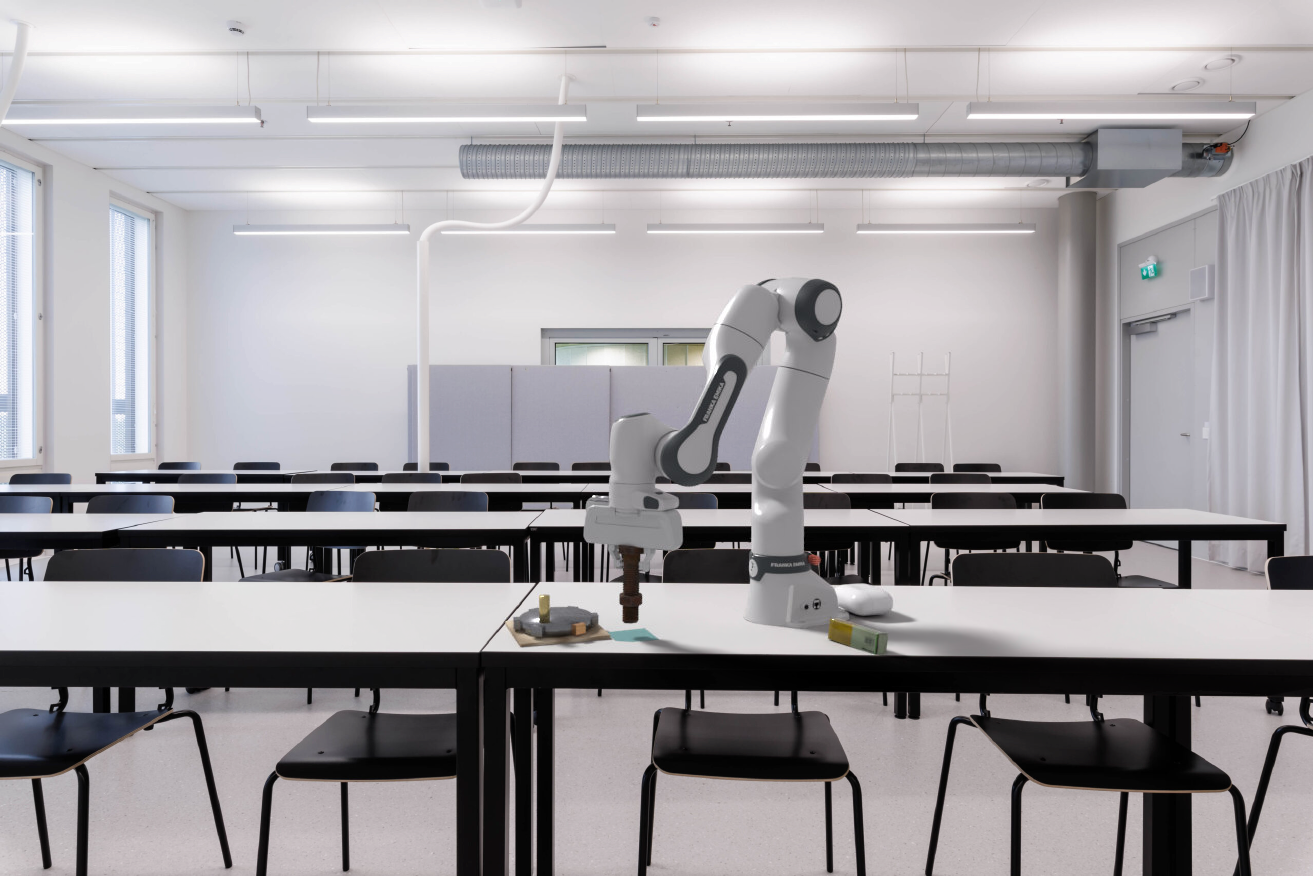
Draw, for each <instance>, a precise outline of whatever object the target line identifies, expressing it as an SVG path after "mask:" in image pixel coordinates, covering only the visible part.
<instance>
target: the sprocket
mask: <svg viewBox="0 0 1313 876" xmlns="http://www.w3.org/2000/svg"><path fill="white" fill-rule="evenodd" d="M550 601H551V595H550V594H540V595H539V596H538V607H533V608H529V609H528V610H527V611H524V612H523V613H521V614H520V615H519V616H513V617H512V620H513V628H514V629H521V630H522V631H523V632H525V633H528V634H531V636H535V637H543V636H561V635H570V634H574V635H579V634H583V633H586V630H588V629H589V628H591V626H592V625H596V624H599V614H598V612H591V611H589V610H586V609H583V608H579V606H575V605H573V606H572V605H568V606H551V602H550Z"/></svg>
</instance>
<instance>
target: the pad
mask: <svg viewBox="0 0 1313 876" xmlns="http://www.w3.org/2000/svg"><path fill="white" fill-rule="evenodd" d="M607 632H608V633H609V634H610V638H611V639H612V640H614V641H616V642H625V643H627V642H628V643H635V642H649V641H655V640H656V641H657V640H659V637H657V636H655V635H654V634H653V633H652V632H651V631H649V630H648V629H647V628H645V627H644V628H643V627H642V628H636V629H635V628H633V629H625V630H615V631H607Z"/></svg>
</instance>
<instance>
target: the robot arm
mask: <svg viewBox="0 0 1313 876" xmlns="http://www.w3.org/2000/svg"><path fill="white" fill-rule="evenodd" d="M842 311H843V298H842V295H841V291H840V290H839V288H838V287H837V285H835V284H834V283H832V282H830V281H827V280H824V279H821V278H807V277H799V276H798V277H786V278H779V279H777V278H769V279H765V280H762V281H760V282H758V283H756V284H745V285H743V286H741V287H740V288H738V289H737V290H736V291H735V293H734V294H733V295H732V296H731V298H730V299H729V301H728V302H727V303H726V304H725V305H724V307H723V309H722V310H721V312H720V313H719V315H718V317H717V318H716V320H715V322H714V324H713V326H712V328H711V330H710V331H709V334H708V336H707V338H706V340H705V343H704V347H703V350H702V354H701V361H702V364H703V366H704V370H705V371H706V382H705V386H704V388H703V390H702V392H701V395H700V397H699V398H698V401H697V403H696V405H695V407H694V410H692V411H693V412H692V413H691V416H690V418H689V420H688V422H687V423H686V424H685V425H684V426H683V427H682V428H681V429H678V428H676V427H672V426H670V425H669V424H667V423H665V422H663V421H661V420H660V419H658V418H656V417H655V416H654V415H652V413H650V412H638V413H632V414H631V413H630V414H626V415H622V416H619V417H618V418H617V419H615V420H614V422H613V423H612V426H611V428H610V429H611V430H610V436H609V455H608V456H609V457H608V458H609V459H608V461H609V463H610V469H611V470H610V476H609V478H608V479H609V480H608V481H609V482H608V485H609V486H608V491H609V492H608V495H597V494H596V495H592V497H590V498H588V499H587V501H586V504H585V517H584V524H583V525H584V527H583V538H584V541H586V543H589V544H599V545H600V544H601V545H606V546H607V545H608V548H607V549H608V552H609V554H610V556H611V559H612V560H613V568H614V569H617V570H623V568H624V567H623V557H621V554H619V552H618V546H619V545H626V546H635V547H639V548H644V554H643V555H645V557H644V559H642V561H640V562H639V571H640V572H642V573H643V572H644V573H646V572H650V570H651V561H652V560H653V558H654V557H655V555H656V550H660V551H669V552H670V551H675V550H678V549H679V548H680V547H681V546H682V545H683V541H684V539H683V538H684V537H683V536H684V535H683V534H684V533H683V521H682V520H683V519H682V516H681V513H680V511H678V509H676V508H678V507H679V505H680V500H679V497H678V496H675V495H673V494H671V493H669V492H666V491H664V490H662V489H659V488H657V487H656V479H657V477H664V478H666V479H668V480H670V481H672V482H673V483H674V484H676V485H679V486H682V487H686V488H691V487H696V486H699V485H701V484H704V483H705V482H707V481H708V480H709V479H710V478H711V476H713V474H714V472H715V471H716V470H715V469H716V468H717V464H718V460H719V459H718V457H719V446H720V445H719V444H720V440H721V437H722V433H723V431H724V430H725V427H726V424H727V422H728V420H729V418H730V416H731V414H732V411H733V409H734V408H735V405H736V402H737V400H738V398H739V396H740V394H741V392H742V389H743V387H744V385H745V384H746V382H747V381H748V379H749V377H750V375H751V374H752V372H753V370H754V369H755V368H756V365H757V364H758V362H759V360H760V359H761V356H762V354H763V353H764V351H765V349H766V347H767V344H768V343H769V340H770V338H771V336H772V334H773V333H774V332H775V331H777V332H782V333H784V335H785V347H784V350H783V352H782V354H781V357H780V359H779V363H778V367H777V369H776V372H775V373H776V374H775V377H774V380H773V382H772V383H773V384H772V387H771V391H770V393H769V397H768V401H767V404H766V408H765V411H764V415H763V418H762V421H761V425H760V428H759V431H758V434H757V437H756V442H755V444H754V445H755V446H753V447H754V448H753V450H752V454H751V459H750V466H751V511H750V512H751V514H750V515H751V519H750V521H751V526H750V527H751V537H750V539H751V546H750V547H751V550H750V551H749V555H748V557H749V559H748V564H749V565H748V571H749V587H748V588H749V591H748V595H747V601H746V607H745V610H744V614H743V618H744V620H746V621H749V622H751V623H752V624H753V623H754V624H758V625H763V626H771V627H774V626H775V627H783V628H784V627H786V628H790V629H791V628H792V629H805V628H811V627H816V626H818V627H819V626H823V625H829V624H830V619H842V620H845V621H850V620H851V619H850V612H849V611H847V610H845V609H843V608H841V607H839V605H838V598H837V594H836V591H835V587H833V585H831V584H830V583H829V582H827V580H825V579H823V577H821V576H820V575H818V574H817V573H816V572H815V571H813V570H812V567H811V565H815V566H819V565H820V563H821V560H822V559H821V557H820V556H819V555H815V554H808V553H807V552H805V551H804V549H805V547H804V544H805V541H804V537H805V531H804V530H805V522H804V521H805V513H804V511H805V510H804V509H805V508H804V485H803V483H804V482H803V481H804V480H803V479H804V478H803V476H804V472H805V471H806V468H807V467H806V466H807V463H808V459H809V456H810V452H811V448H812V444H813V441H814V436H815V433H816V428H817V424H818V421H819V416H820V413H821V409H822V408H823V407H822V406H823V404H824V400H825V396H826V393H827V389H828V386H829V383H830V380H831V375H832V373H833V369H834V362H835V359H836V351H837V336H836V333H835V330H837V329H836V328H837V327H838V323H839V322H840V318H841V317H842Z"/></svg>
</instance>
